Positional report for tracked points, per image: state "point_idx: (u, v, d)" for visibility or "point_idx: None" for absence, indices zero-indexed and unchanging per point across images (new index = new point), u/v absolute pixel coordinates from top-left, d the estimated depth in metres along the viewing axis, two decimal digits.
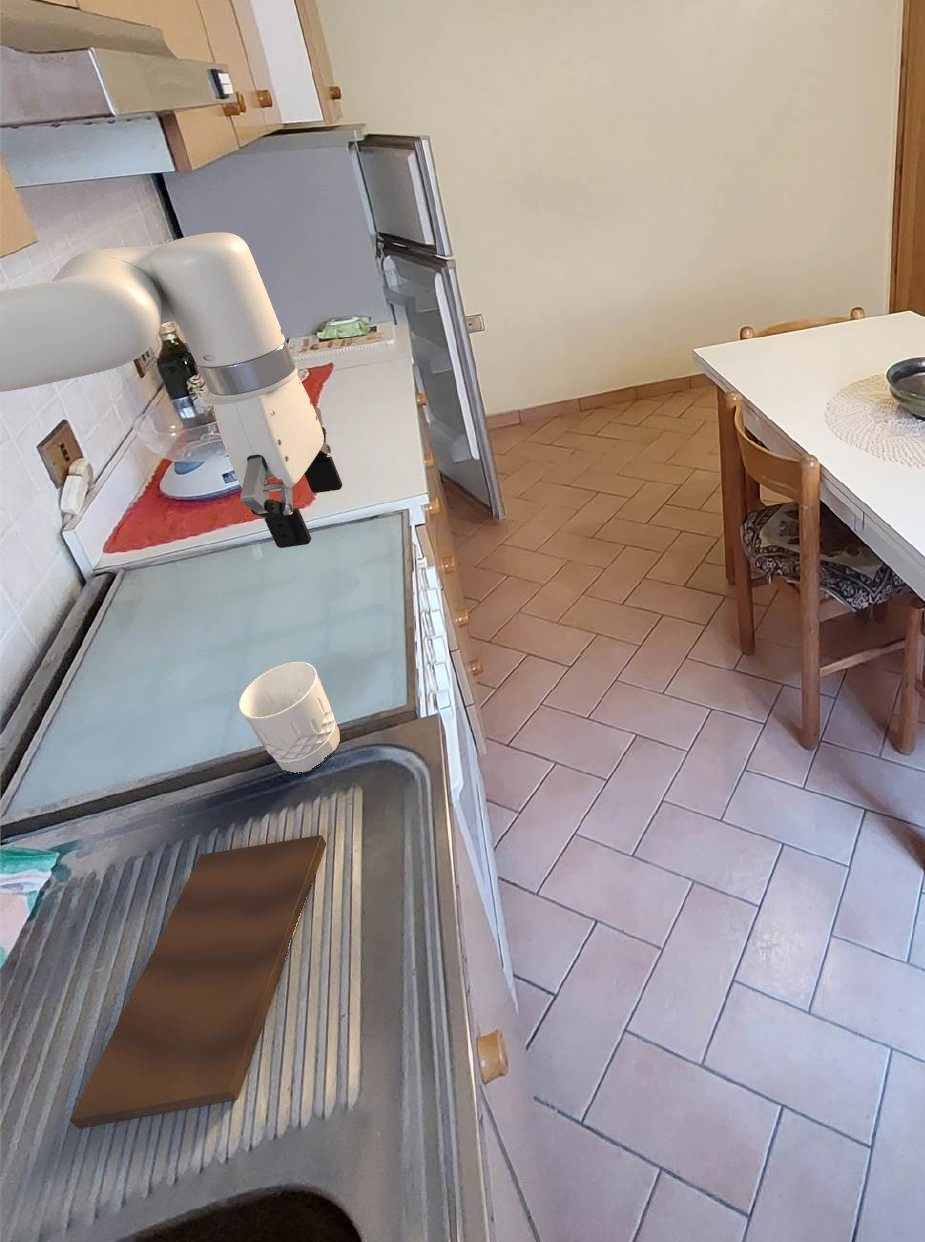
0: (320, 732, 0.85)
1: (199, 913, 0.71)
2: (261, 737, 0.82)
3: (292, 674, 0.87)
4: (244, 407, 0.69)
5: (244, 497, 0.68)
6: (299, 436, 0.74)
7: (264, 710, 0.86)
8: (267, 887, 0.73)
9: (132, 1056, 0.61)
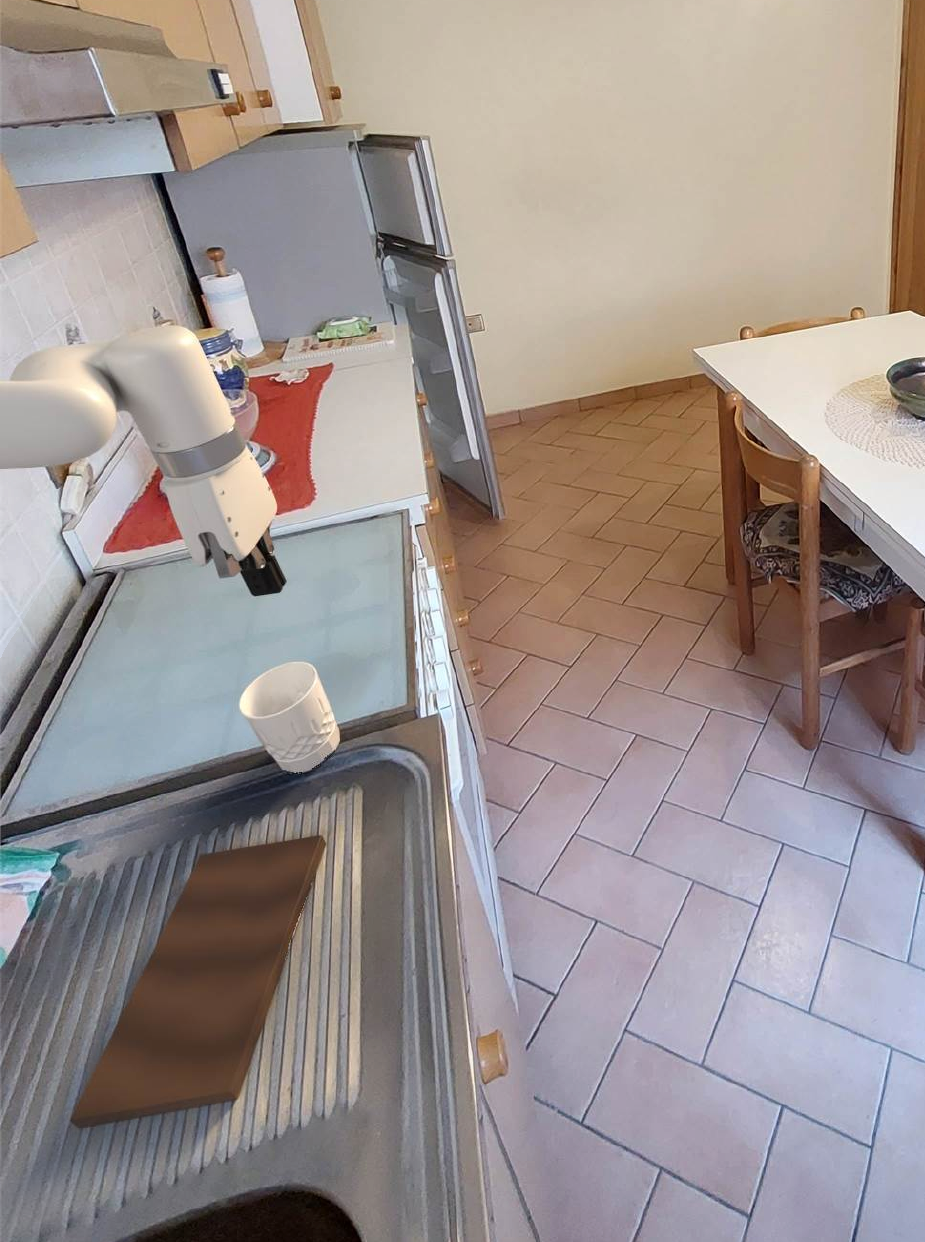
0: (320, 732, 0.85)
1: (199, 913, 0.71)
2: (261, 737, 0.82)
3: (292, 674, 0.87)
4: (194, 489, 0.73)
5: (222, 577, 0.77)
6: (250, 510, 0.79)
7: (264, 710, 0.86)
8: (267, 887, 0.73)
9: (132, 1056, 0.61)
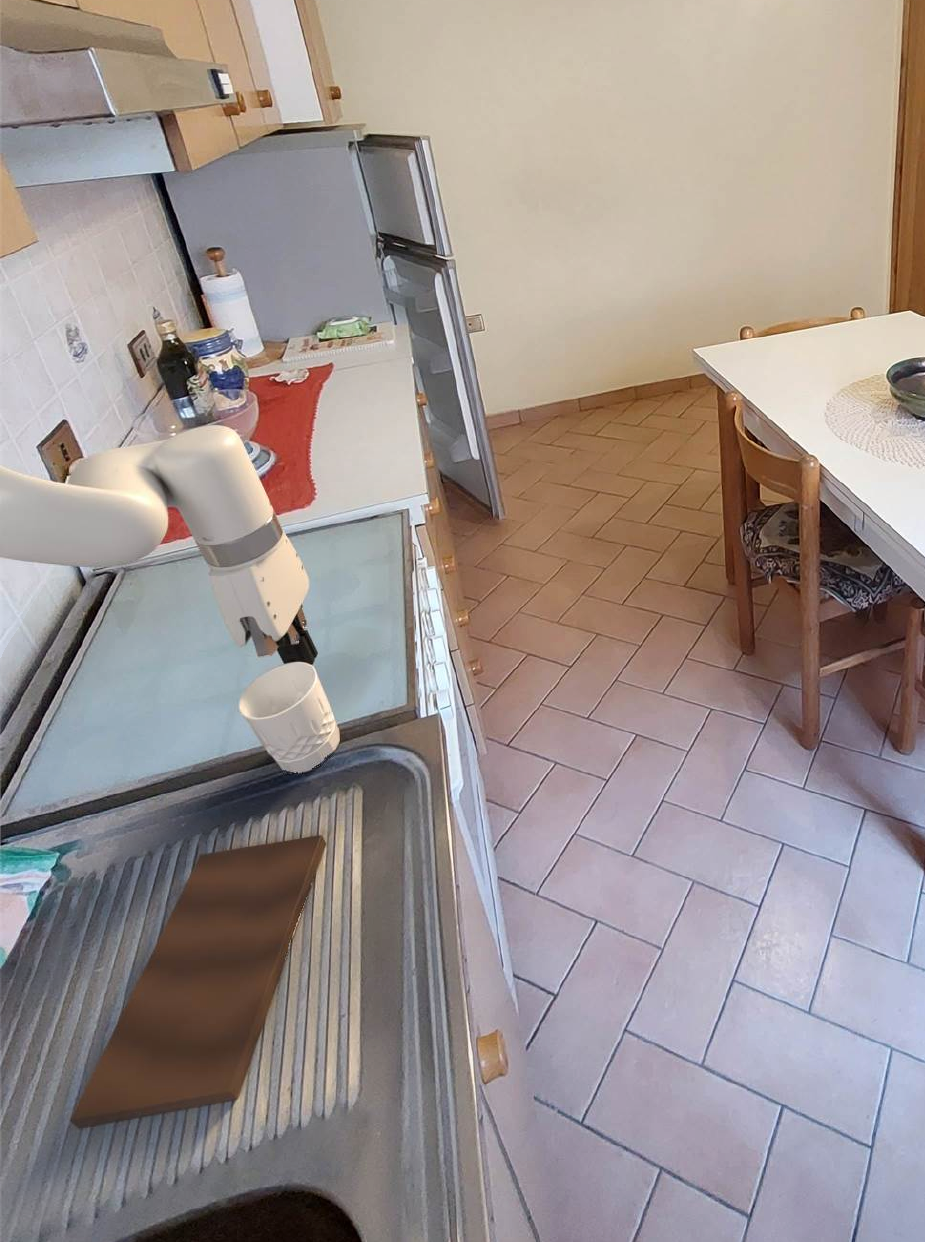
0: (320, 732, 0.85)
1: (199, 913, 0.71)
2: (261, 737, 0.82)
3: (292, 674, 0.87)
4: (237, 578, 0.78)
5: (261, 656, 0.82)
6: (286, 592, 0.83)
7: (264, 710, 0.86)
8: (267, 887, 0.73)
9: (132, 1056, 0.61)
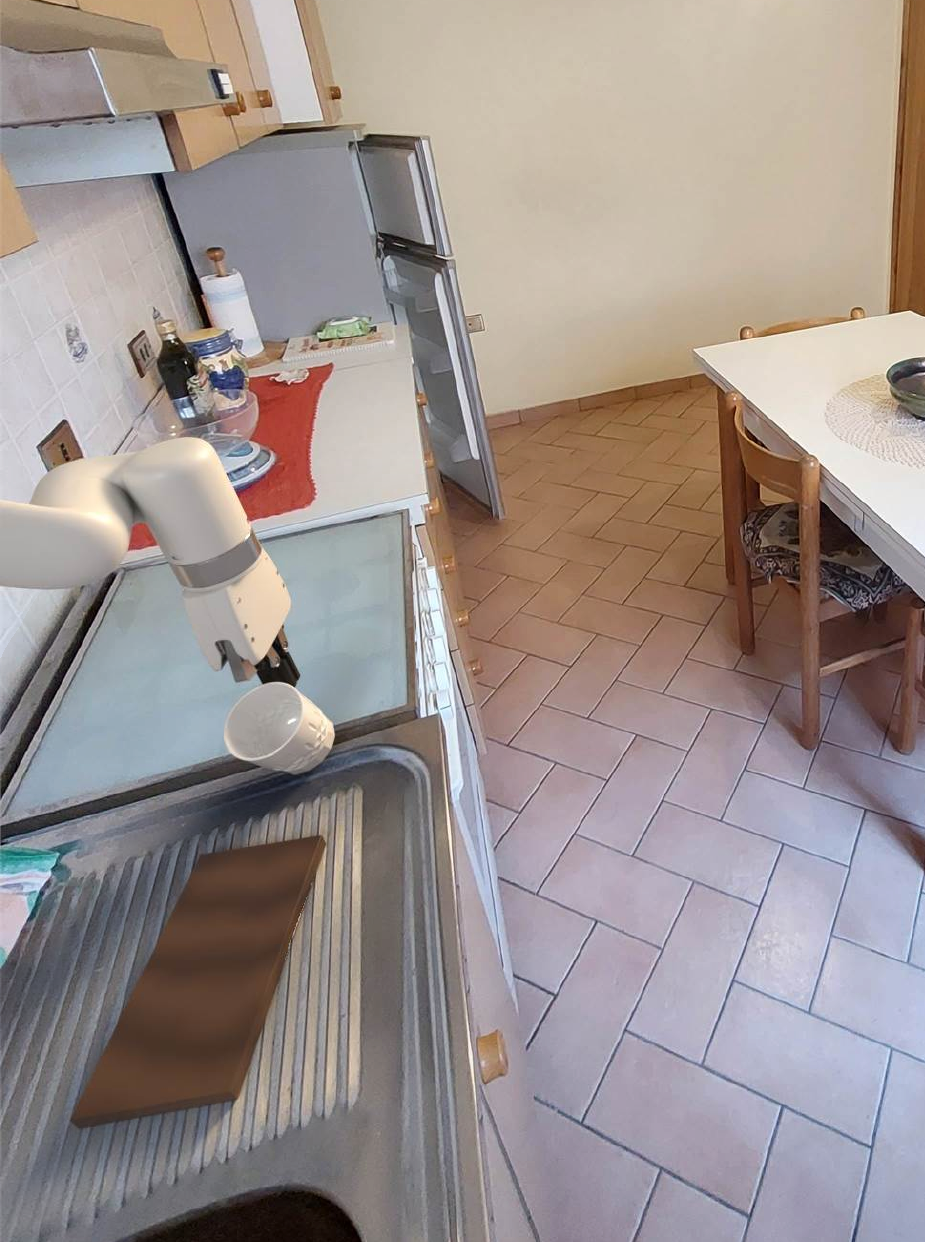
0: (315, 746, 0.83)
1: (199, 913, 0.71)
2: (255, 763, 0.80)
3: (274, 690, 0.83)
4: (211, 600, 0.73)
5: (238, 681, 0.77)
6: (265, 613, 0.79)
7: (251, 724, 0.83)
8: (267, 887, 0.73)
9: (132, 1056, 0.61)
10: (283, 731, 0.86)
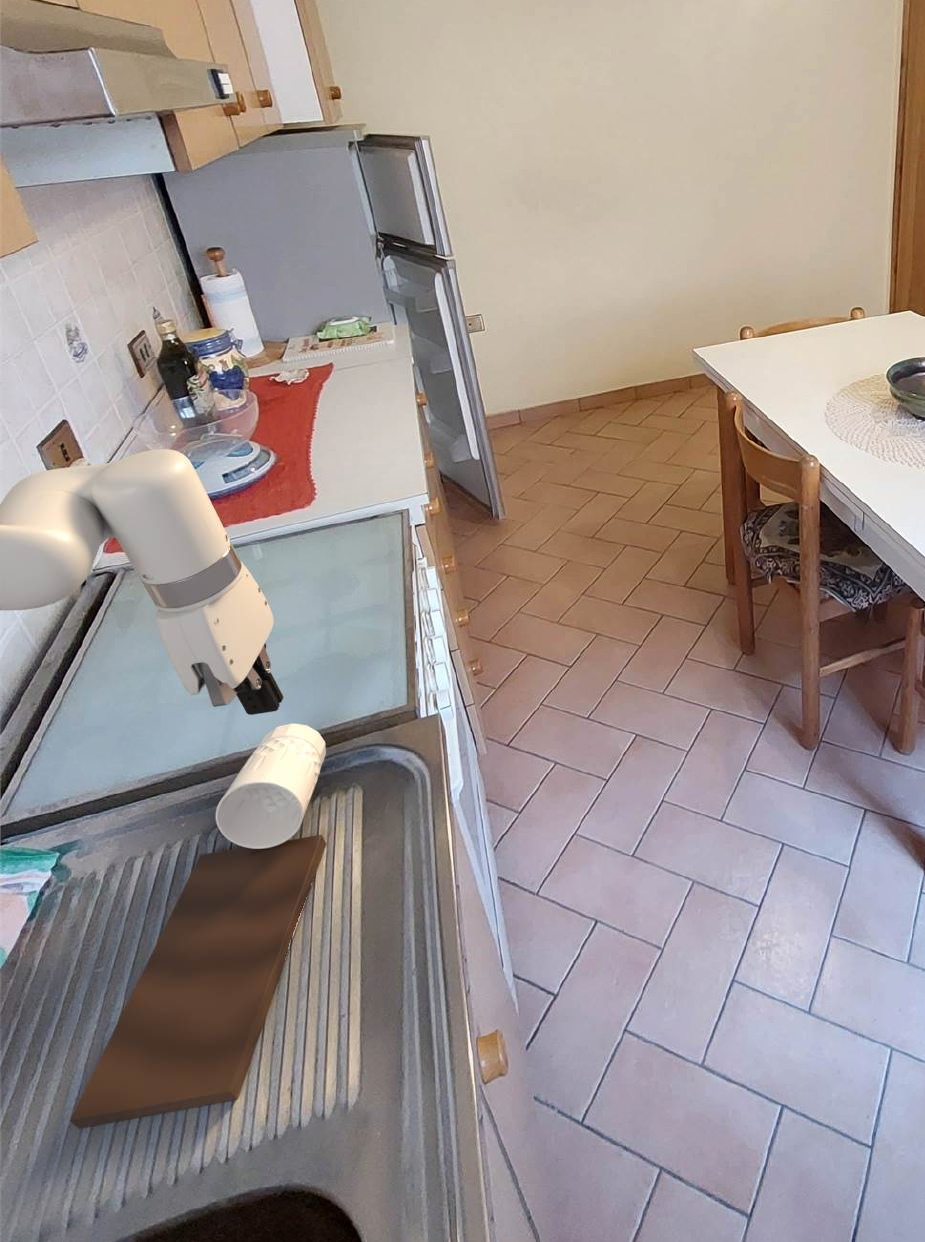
0: (315, 783, 0.82)
1: (199, 913, 0.71)
2: None
3: None
4: (187, 620, 0.69)
5: (216, 705, 0.73)
6: (245, 633, 0.75)
7: None
8: (267, 887, 0.73)
9: (132, 1056, 0.61)
10: None
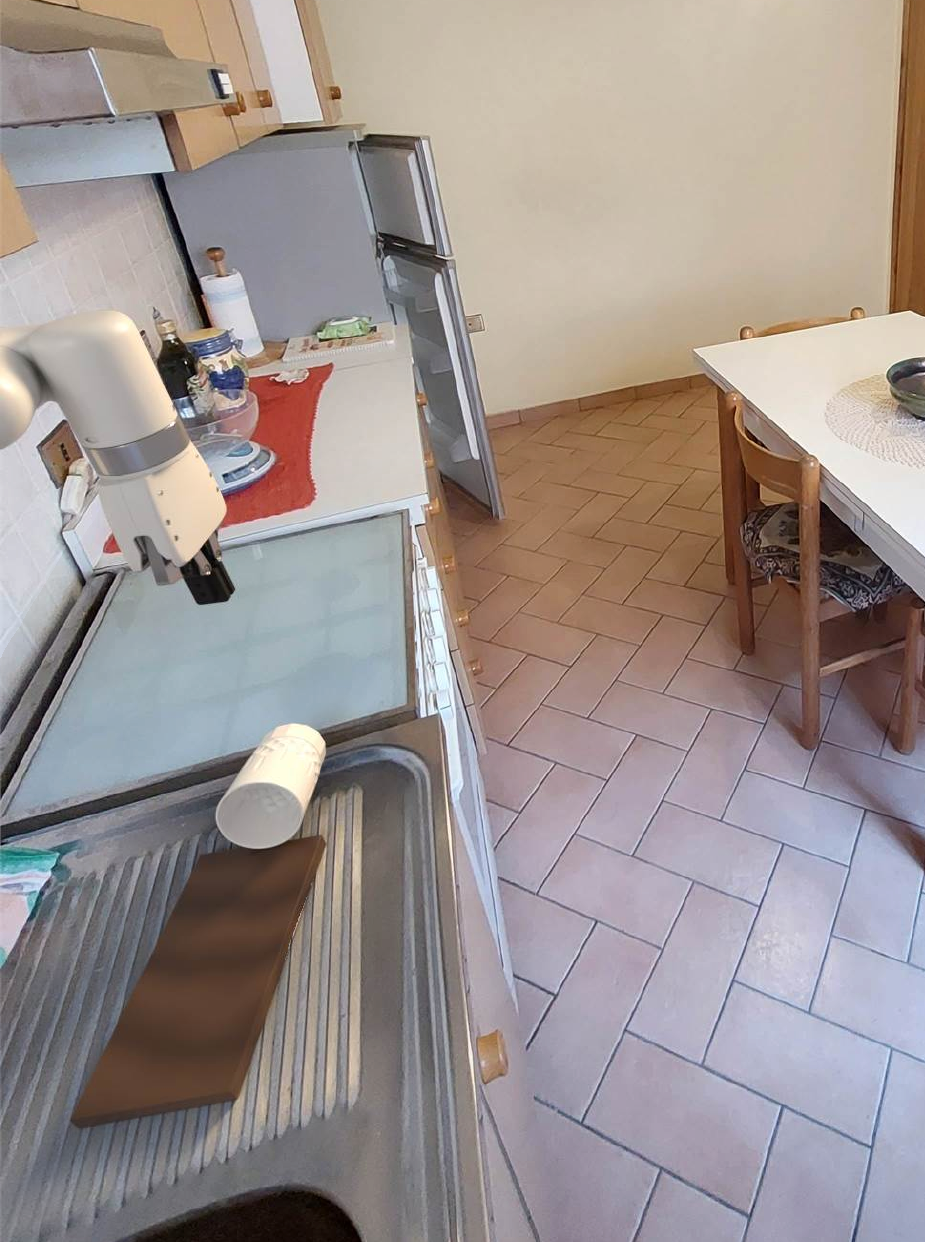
0: (315, 783, 0.82)
1: (199, 913, 0.71)
2: None
3: None
4: (129, 489, 0.67)
5: (161, 584, 0.71)
6: (193, 512, 0.73)
7: None
8: (267, 887, 0.73)
9: (132, 1056, 0.61)
10: None
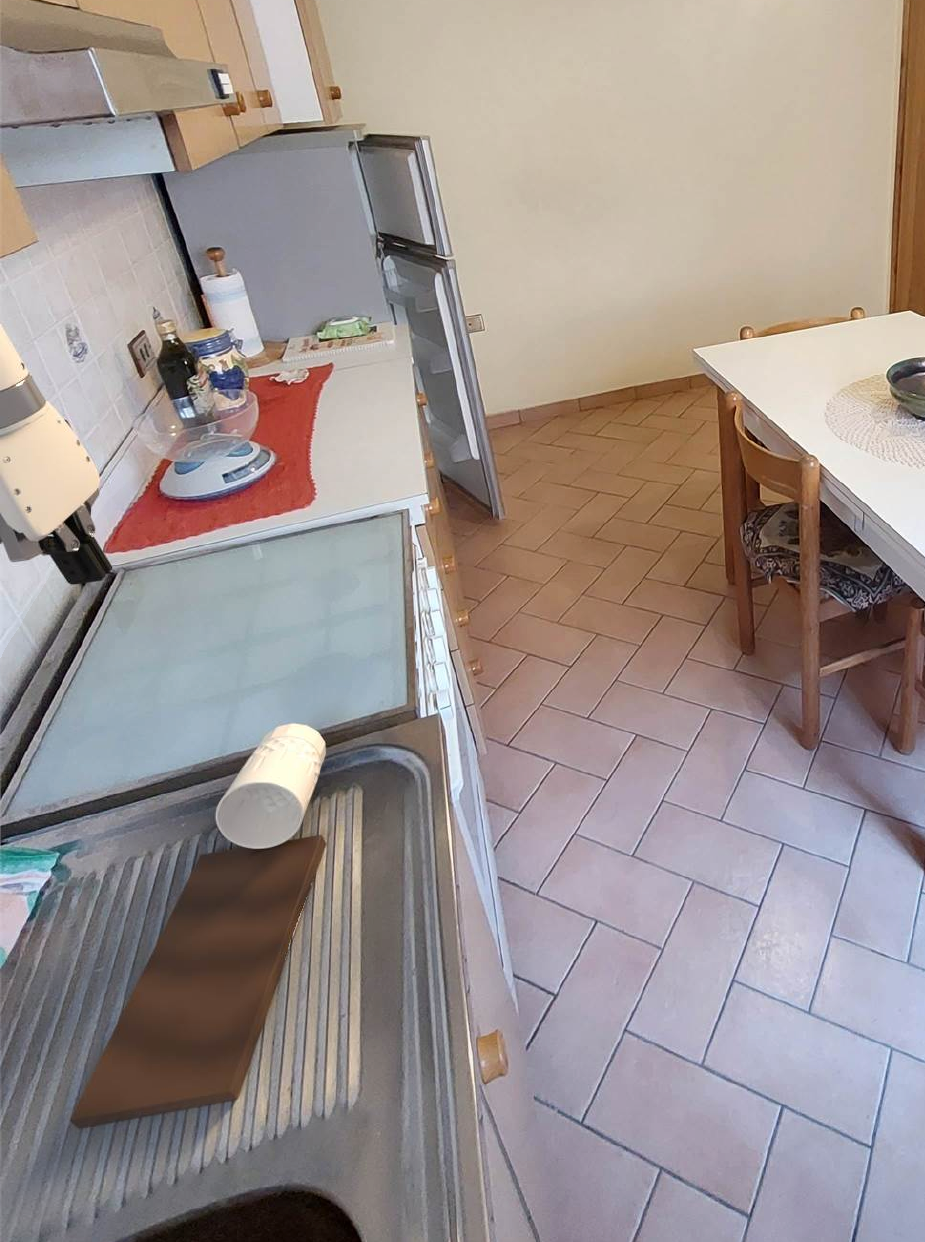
0: (315, 783, 0.82)
1: (199, 913, 0.71)
2: None
3: None
4: None
5: (14, 560, 0.65)
6: (52, 482, 0.67)
7: None
8: (267, 887, 0.73)
9: (132, 1056, 0.61)
10: None
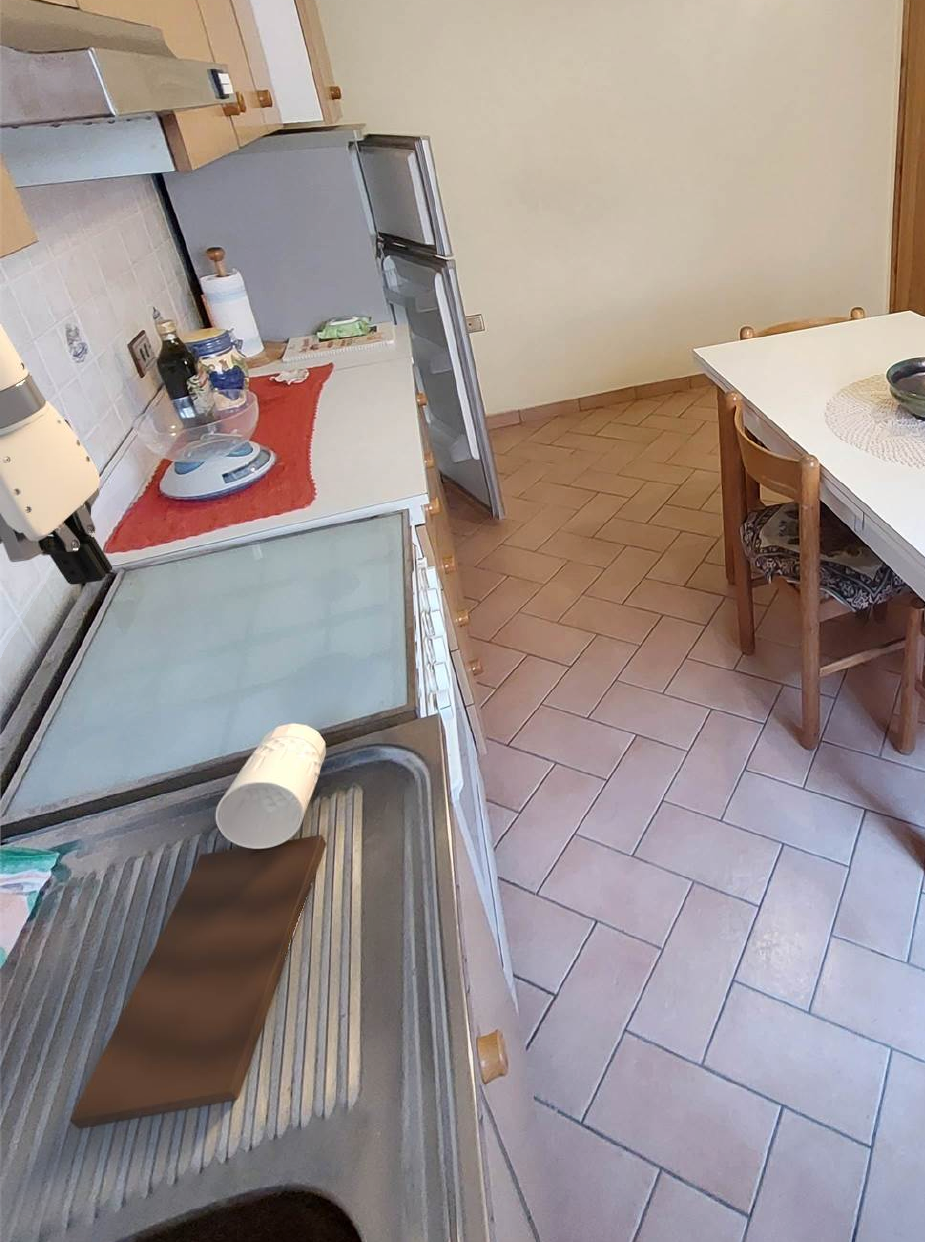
0: (315, 783, 0.82)
1: (199, 913, 0.71)
2: None
3: None
4: None
5: (14, 560, 0.65)
6: (52, 482, 0.67)
7: None
8: (267, 887, 0.73)
9: (132, 1056, 0.61)
10: None
